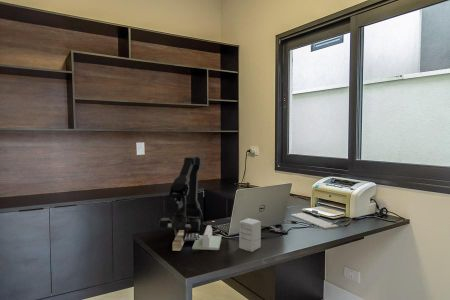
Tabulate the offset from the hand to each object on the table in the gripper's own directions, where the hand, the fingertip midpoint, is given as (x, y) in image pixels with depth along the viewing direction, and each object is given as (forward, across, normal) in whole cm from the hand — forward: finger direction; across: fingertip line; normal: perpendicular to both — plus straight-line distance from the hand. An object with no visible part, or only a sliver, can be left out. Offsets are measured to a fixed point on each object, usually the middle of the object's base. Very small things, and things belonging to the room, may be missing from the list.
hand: (179, 240), depth 148 cm
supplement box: (+2, +33, -2) cm, 33 cm away
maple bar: (+1, 0, 0) cm, 1 cm away
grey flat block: (+2, +73, +46) cm, 87 cm away
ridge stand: (+2, +13, +2) cm, 13 cm away
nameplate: (+2, +45, +30) cm, 54 cm away
